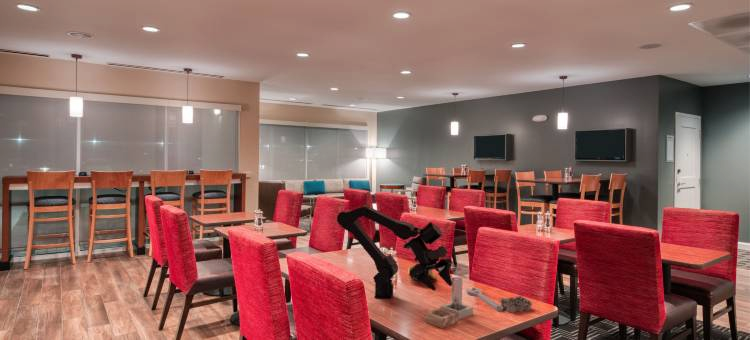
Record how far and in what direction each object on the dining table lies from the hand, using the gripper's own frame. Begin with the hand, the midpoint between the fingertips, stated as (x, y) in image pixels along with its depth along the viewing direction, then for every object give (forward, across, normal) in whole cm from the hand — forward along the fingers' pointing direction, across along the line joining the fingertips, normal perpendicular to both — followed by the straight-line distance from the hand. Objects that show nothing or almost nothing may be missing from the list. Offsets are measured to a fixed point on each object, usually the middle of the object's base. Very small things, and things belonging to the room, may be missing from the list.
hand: (443, 287), depth 165 cm
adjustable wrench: (+8, +20, +4) cm, 22 cm away
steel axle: (+10, 0, +1) cm, 10 cm away
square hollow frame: (+10, 0, +1) cm, 10 cm away
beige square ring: (+11, -10, 0) cm, 15 cm away
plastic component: (-17, +24, +29) cm, 41 cm away
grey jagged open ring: (+17, +22, -6) cm, 28 cm away
